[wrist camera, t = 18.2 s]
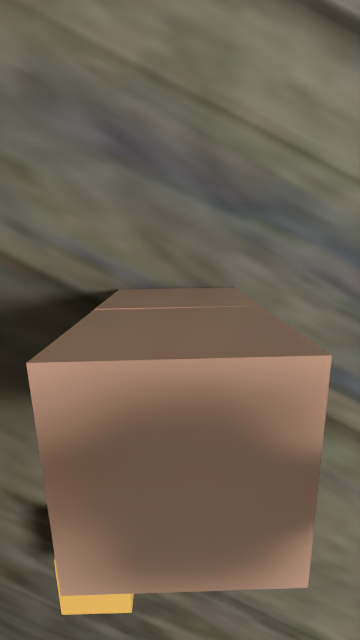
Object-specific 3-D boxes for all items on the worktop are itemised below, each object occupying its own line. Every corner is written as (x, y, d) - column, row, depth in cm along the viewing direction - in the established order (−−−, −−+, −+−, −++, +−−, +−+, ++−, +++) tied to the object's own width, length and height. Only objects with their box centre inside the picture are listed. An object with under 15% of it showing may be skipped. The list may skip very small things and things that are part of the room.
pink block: (126, 393, 19) (106, 453, 13) (119, 289, 17) (94, 308, 12) (230, 391, 19) (253, 449, 13) (233, 287, 17) (260, 305, 12)
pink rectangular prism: (106, 454, 13) (60, 596, 8) (94, 309, 12) (26, 363, 6) (253, 449, 13) (308, 587, 8) (260, 305, 12) (331, 355, 6)
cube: (82, 547, 21) (61, 614, 17) (77, 500, 20) (54, 559, 17) (139, 546, 21) (131, 612, 18) (136, 498, 20) (127, 557, 17)
